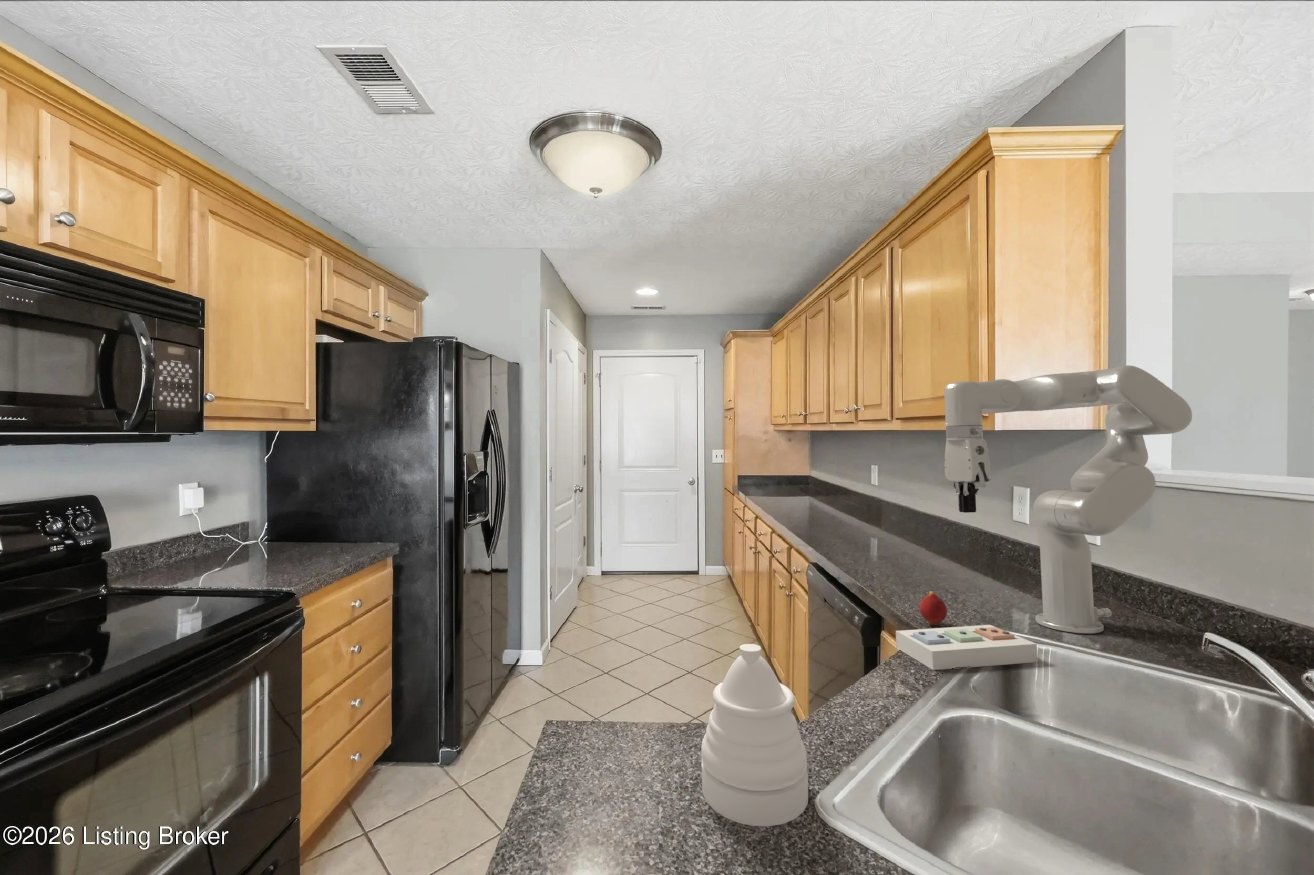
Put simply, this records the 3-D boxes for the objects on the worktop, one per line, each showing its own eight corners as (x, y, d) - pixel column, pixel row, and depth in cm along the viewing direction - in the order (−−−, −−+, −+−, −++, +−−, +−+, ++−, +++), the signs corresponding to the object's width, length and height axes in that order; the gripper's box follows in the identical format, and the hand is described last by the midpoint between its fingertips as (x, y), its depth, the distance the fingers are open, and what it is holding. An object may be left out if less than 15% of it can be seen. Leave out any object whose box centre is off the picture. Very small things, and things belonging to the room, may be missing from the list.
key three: (996, 641, 110) (995, 626, 110) (1014, 649, 105) (1014, 633, 106) (975, 643, 110) (975, 627, 110) (993, 651, 105) (992, 635, 105)
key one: (966, 643, 109) (965, 627, 109) (983, 651, 105) (982, 635, 105) (944, 645, 109) (944, 629, 109) (961, 653, 104) (960, 637, 104)
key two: (935, 645, 108) (934, 629, 109) (950, 654, 104) (950, 637, 104) (913, 647, 108) (912, 631, 108) (928, 655, 103) (927, 639, 103)
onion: (941, 621, 128) (939, 588, 128) (952, 629, 122) (950, 594, 122) (916, 621, 128) (915, 588, 129) (926, 629, 123) (924, 594, 123)
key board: (990, 641, 114) (990, 624, 114) (1037, 662, 102) (1036, 643, 102) (896, 647, 111) (895, 630, 111) (932, 670, 99) (932, 651, 99)
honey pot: (814, 832, 57) (809, 664, 58) (697, 820, 59) (693, 659, 60) (802, 764, 70) (798, 627, 71) (706, 756, 72) (703, 624, 73)
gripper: (1003, 432, 117) (1007, 514, 116) (956, 435, 132) (960, 508, 131) (972, 432, 116) (976, 516, 115) (929, 435, 131) (932, 509, 130)
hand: (967, 511), depth 123 cm, fingers closed
